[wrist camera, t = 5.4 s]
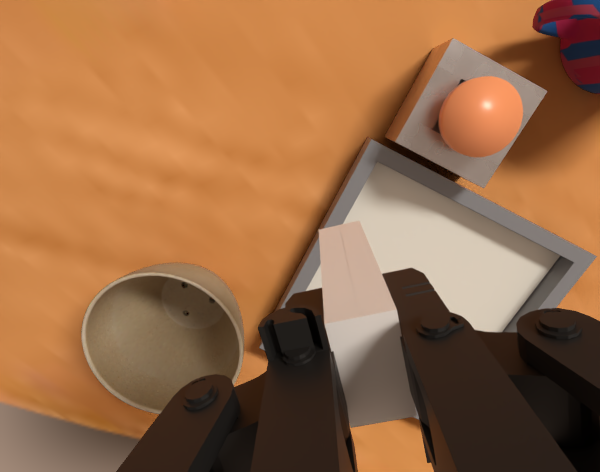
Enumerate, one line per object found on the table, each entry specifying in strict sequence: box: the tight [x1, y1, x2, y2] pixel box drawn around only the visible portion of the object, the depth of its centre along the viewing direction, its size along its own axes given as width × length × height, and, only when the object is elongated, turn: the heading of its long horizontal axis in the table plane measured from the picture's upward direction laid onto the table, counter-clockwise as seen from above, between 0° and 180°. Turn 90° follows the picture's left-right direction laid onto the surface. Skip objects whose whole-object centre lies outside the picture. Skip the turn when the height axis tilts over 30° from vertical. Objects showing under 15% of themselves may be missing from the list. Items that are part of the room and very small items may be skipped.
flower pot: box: [81, 263, 244, 414], centre depth 28 cm, size 10×10×7 cm
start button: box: [439, 76, 523, 157], centre depth 22 cm, size 4×4×3 cm
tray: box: [259, 137, 597, 420], centre depth 29 cm, size 17×17×2 cm
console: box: [385, 38, 547, 188], centre depth 24 cm, size 6×6×4 cm
